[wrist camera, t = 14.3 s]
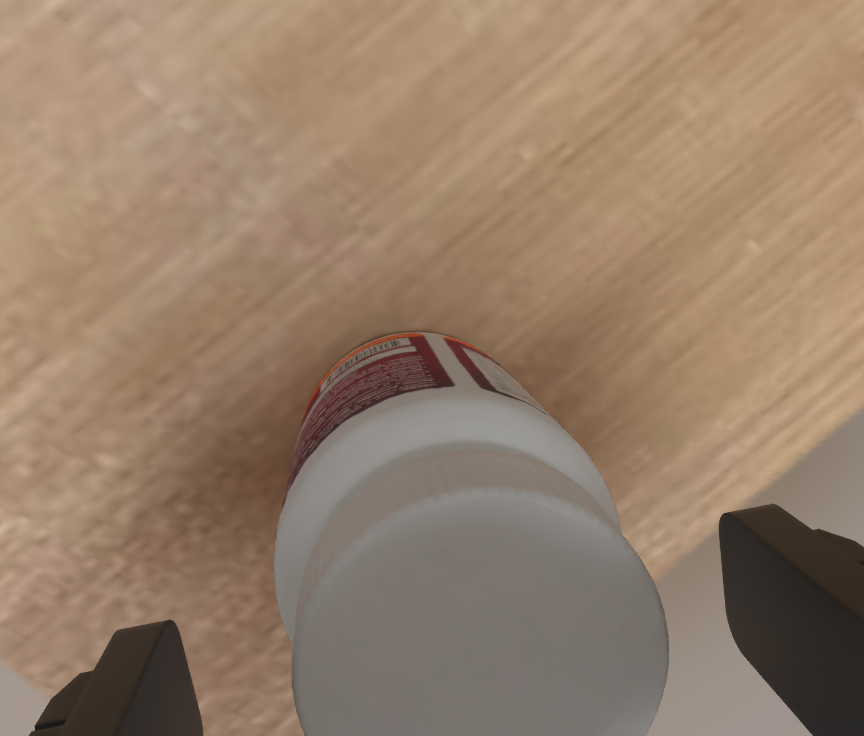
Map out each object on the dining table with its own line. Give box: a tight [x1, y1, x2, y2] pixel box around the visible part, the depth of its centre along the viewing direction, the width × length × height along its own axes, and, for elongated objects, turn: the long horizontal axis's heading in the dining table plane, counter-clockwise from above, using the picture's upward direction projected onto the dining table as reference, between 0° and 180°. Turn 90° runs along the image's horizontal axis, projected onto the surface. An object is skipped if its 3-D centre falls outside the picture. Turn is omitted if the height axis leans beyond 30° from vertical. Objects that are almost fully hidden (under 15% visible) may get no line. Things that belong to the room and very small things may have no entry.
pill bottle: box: [274, 332, 669, 736], centre depth 16 cm, size 6×6×11 cm
